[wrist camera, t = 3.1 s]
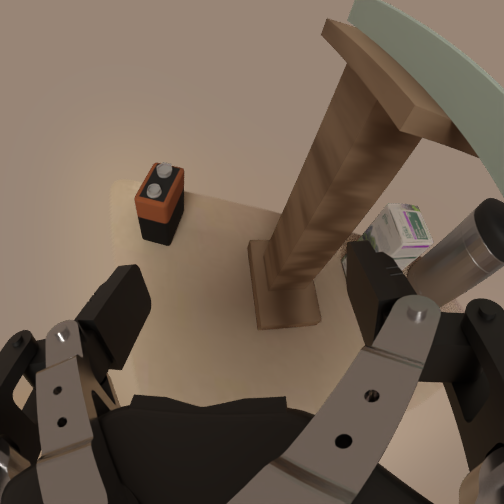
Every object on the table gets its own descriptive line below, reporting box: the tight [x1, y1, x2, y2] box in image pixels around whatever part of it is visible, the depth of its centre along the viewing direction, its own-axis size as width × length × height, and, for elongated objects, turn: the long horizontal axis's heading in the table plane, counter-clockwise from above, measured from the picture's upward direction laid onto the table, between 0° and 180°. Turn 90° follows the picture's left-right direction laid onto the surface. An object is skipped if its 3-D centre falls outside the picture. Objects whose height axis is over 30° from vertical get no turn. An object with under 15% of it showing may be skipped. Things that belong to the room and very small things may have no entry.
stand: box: [248, 19, 479, 330], centre depth 27 cm, size 8×12×32 cm, turn 6°
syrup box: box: [341, 203, 434, 277], centre depth 38 cm, size 6×6×14 cm
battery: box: [135, 162, 184, 246], centre depth 38 cm, size 4×7×10 cm, turn 169°
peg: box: [348, 0, 504, 197], centre depth 11 cm, size 3×22×3 cm, turn 6°
